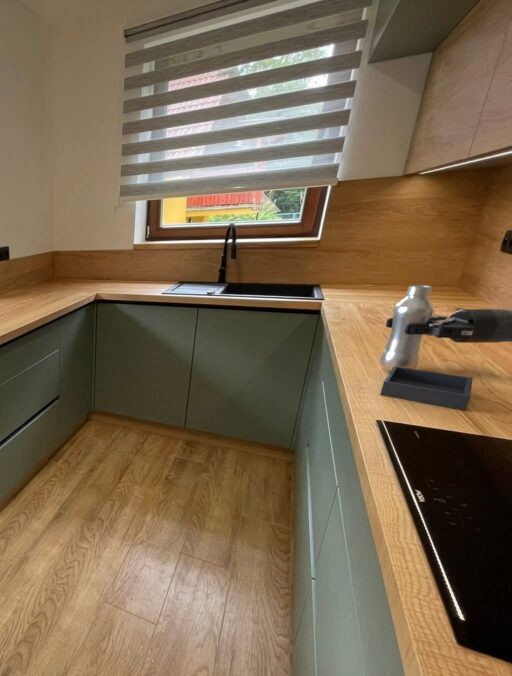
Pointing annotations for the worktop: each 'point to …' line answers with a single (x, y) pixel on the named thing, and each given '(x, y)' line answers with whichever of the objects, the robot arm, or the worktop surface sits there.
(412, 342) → the silver bottle
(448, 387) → the tray
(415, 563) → the worktop surface
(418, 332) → the robot arm
